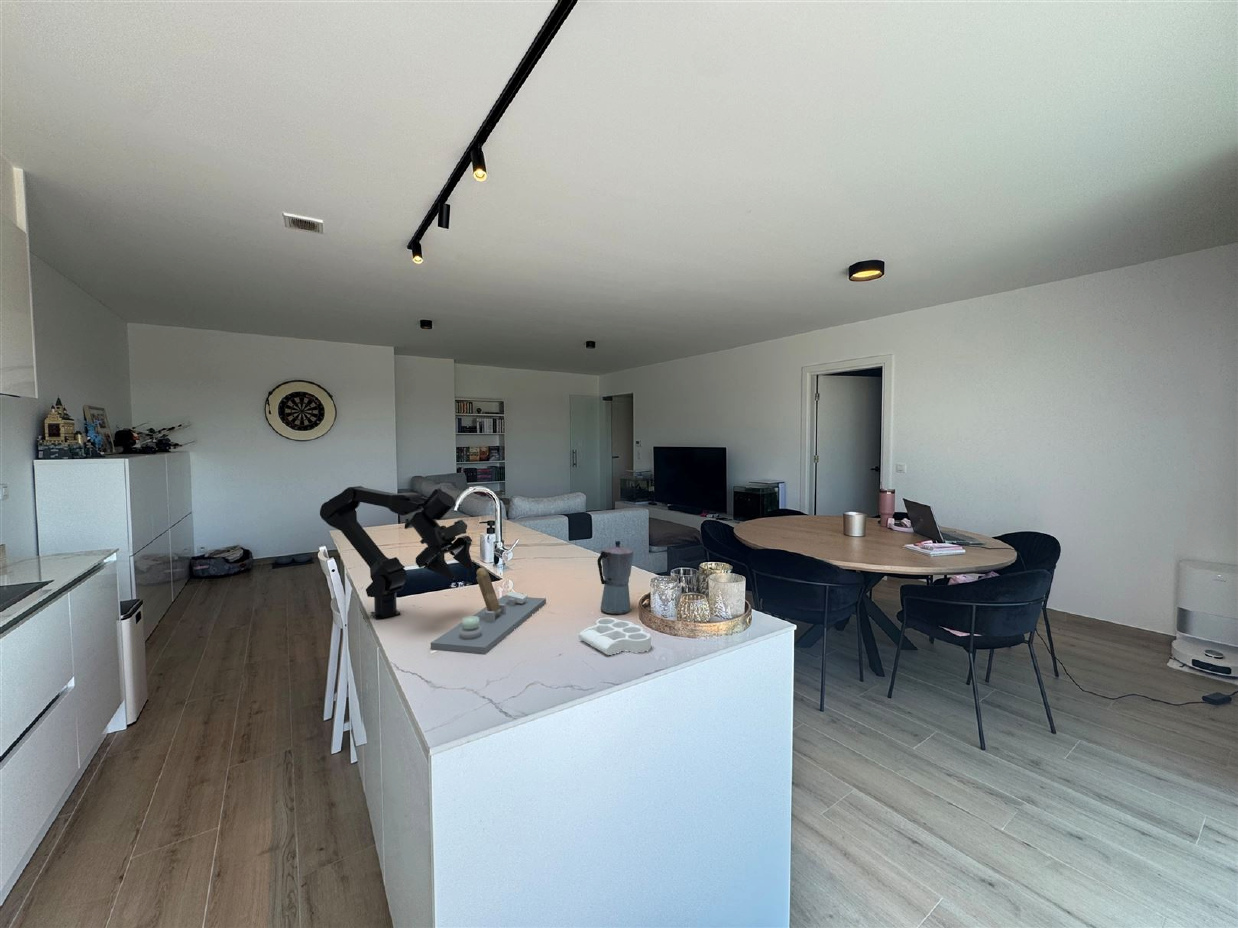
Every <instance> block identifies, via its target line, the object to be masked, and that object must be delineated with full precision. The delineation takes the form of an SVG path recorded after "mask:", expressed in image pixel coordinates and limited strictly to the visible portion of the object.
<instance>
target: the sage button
mask: <svg viewBox="0 0 1238 928" xmlns="http://www.w3.org/2000/svg"><path fill="white" fill-rule="evenodd" d="M461 623H462V628H464V629H474V628H477V627H479V617H477V616H473V615H470V616H464V617H463V618H462V619H461Z"/></svg>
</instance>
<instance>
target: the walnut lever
mask: <svg viewBox="0 0 1238 928" xmlns="http://www.w3.org/2000/svg"><path fill="white" fill-rule="evenodd" d="M475 579H476V581H477V583H478V587H479V589H480V592H481V596H482V598H483V601H484V604H485V607H487V610H488V611H492V612H495V617H496V616H498V615H499V614H500V613H502V609H501V608H500V605H499V602H498V599H499V598H498V596H497V594H496V591H495V589H494V585H493V582H492V580H491V577H490V574H489V571H487V569H486V568H484V567H480V568H478V569H477V570H476V578H475Z"/></svg>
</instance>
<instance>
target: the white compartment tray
mask: <svg viewBox="0 0 1238 928" xmlns="http://www.w3.org/2000/svg"><path fill="white" fill-rule="evenodd" d="M651 635H652V634H650V633H648V632H646V631H645V629H644V628H643V627H642V626H641V625H636V624H634V623H633V622H631V621H628V620H627V621H626V620H620V619H617V618H615V617H602V618H599V619H597V620H596V622H595V625H593V626H589V627H587V628H585V629H583V630H581V632H579V634H578V638H579V640H581V641H583V642H584V643H586V644H588V645H590V646H591V647H592V648H595V649H596V650H598V651H600V652H602V653H603V654H605V655H607V656H609V655H612V654H614V653H617V652H620V651H625V650H628V651H631V652H643V651H647V650H649V649H650V648H652V636H651ZM650 650H651V649H650ZM650 650H649V651H650ZM631 652H630V653H631ZM647 652H648V651H647ZM620 653H621V652H620ZM612 656H613V655H612Z"/></svg>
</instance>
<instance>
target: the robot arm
mask: <svg viewBox="0 0 1238 928" xmlns="http://www.w3.org/2000/svg"><path fill="white" fill-rule="evenodd" d="M361 503H362V504H366V505H367V504H368V505H374V506H378V507H384V508H386V509H388V510H389V511H391V512H392V513H393V514H396V515H399V516H401V517H403V516H409V515H412V516H411V517H409V518H405V523H404V526H403V527H404V529H405V530H407V529H412V528H413V529H414V530H415V532H416V533H417V535H418V536H419V537H420V538H421V540H419V543H420V544H421V545H424V544H425V545H426V547H424V549H422V551H420V553H419V554H417V556H416V557H415V564H416V566H417V567H418V568H419V569H422V568H423V569H424V570H429V571H431V572H432V573H433V572H434V573H435V574H438V575H440V576H442V577H445V578H447V579H449V580H451V581H454V580H455V579H456V575H455V574H454V572H453V570H452V569H451V568H450V566H449V564H448V563H447V562H446V558H445V554H448V553H449V554H450V555H451V556H452V559H454V560H455V561H456V562H458V563H459V564H460V565H462V566H463V567H465V569H467V570H468V571H470V572H474V570H475V566H474V563H473V560H472V557H471V554H470V553H471V552H470V550H471V549H470V548H471V546H472V543H473V539H472V538H471V537H470V535H466V534H467V529H468V524H467V523H466V522H465V521H464V520H463V519H459V520H457V521H454V522H453V524H452V525H449V526H446V525H441V524H439V523H438V520H439V521H440V520H442V519H444V517H446V515H447V514H448V513H449V512H450V511H451V510H452V509H453V508H454V507H455V506H456V500H455V498H454V496H452V495H450V494H449V493H447V492H446V491H443V490H442V489H441V488H435V489H434V490H433V491H432V493H430V495H429V496H428V497H427V498H426V497H423V496H422V494H420V493H418V492H401V493H394V492H389V491H384V490H378V489H373V488H368V487H364V486H362V485H359V486H356V485H355V486H349V487H347V488H345V489H344V490H343V491H342V492H341V493H339V494H337V495H336V496H335V495H334V497H332V498H329V500H327V501H325V502H324V503H322V504H321V506H320V509H319V515H320V518H321V519H322V520H323V521H324V522H325V523H326V524H327V525H328V526H330V527H332V528H334V529H336V530H338V531H340V532H341V533H342V534H343V535H344V537H345V538H346V539H347V541H348V542H349V543H350V544H351V546H352V547H353V548H354V550H355V551H356V552H357V553H358V555H359V556H360V557H361V559H362V560H363V561H364V562H365V563H366V564H367V566H368V567H369V572H370V574H369V576H370V579H371V581H372V582H371V583H370V584H369V585H368V586H367V587H366V588H365V592H366V595H367V597H368V598H373V601H374V602H373V605H374V611H371V612H370V615H371V614H372V615H371V616H372V617H373V618H374V619H375V620H382V619H385V618H391V617H396V616H401V611H399V610H398V609H397V608H398V607H397V606H398V605H397V592H398V591H401V590H403V587H404V585H405V583H406V581H407V576H408V575H407V574H408V573H407V571H406V569H405V568H406V566H404V565H403V564H402V563H401V561H400V559H399V558H398V557H396V556H394V557H392V558H389V557H387V556H386V555H385V554H384V553H383V551H382V550H381V548H379V547H378V545H377V544H376V543H375V542H374V540H373V539H372V537H371V536H370V535H369V533H367V531H366V530H365V529H364V527H363V526H362V525H361V524H360V522H359V521H358V517H357V516H358V515H357V514H358V513H357V512H358V511H357V509H358V508H359V507H360V505H361ZM464 534H465V535H464ZM461 535H462V536H461ZM458 536H459V537H458Z"/></svg>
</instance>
